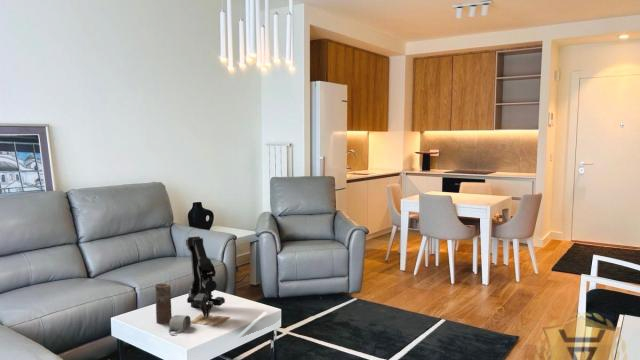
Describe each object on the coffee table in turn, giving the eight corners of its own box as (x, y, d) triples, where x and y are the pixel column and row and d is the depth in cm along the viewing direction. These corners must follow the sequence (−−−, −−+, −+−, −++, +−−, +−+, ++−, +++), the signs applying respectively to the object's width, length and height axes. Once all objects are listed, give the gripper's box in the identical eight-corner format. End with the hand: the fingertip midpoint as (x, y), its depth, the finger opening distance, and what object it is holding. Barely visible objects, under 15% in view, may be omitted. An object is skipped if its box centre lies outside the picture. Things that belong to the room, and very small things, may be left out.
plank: (189, 324, 236) (189, 321, 236) (201, 315, 248) (201, 313, 248) (201, 326, 235) (201, 324, 234) (213, 317, 246) (213, 315, 246)
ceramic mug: (176, 327, 234) (176, 311, 233) (191, 328, 232) (191, 313, 231) (164, 335, 224) (163, 320, 223) (180, 337, 222) (179, 321, 221)
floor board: (202, 327, 234) (202, 324, 234) (215, 317, 246) (215, 315, 246) (219, 328, 231) (219, 326, 231) (231, 319, 244) (231, 317, 244)
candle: (155, 322, 240) (154, 283, 239) (170, 319, 243) (170, 281, 242) (157, 327, 233) (156, 287, 232) (172, 325, 236) (171, 285, 235)
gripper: (180, 289, 237) (181, 320, 238) (214, 292, 232) (215, 323, 233) (192, 283, 248) (193, 312, 249) (225, 286, 243) (225, 316, 244)
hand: (206, 316), depth 244 cm, fingers closed
